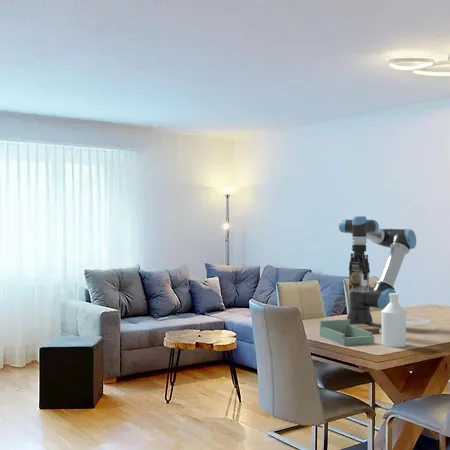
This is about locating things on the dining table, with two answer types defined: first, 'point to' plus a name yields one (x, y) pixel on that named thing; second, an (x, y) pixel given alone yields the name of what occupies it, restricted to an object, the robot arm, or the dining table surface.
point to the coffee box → (357, 278)
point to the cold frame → (344, 332)
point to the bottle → (393, 323)
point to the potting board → (366, 328)
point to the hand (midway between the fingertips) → (358, 284)
